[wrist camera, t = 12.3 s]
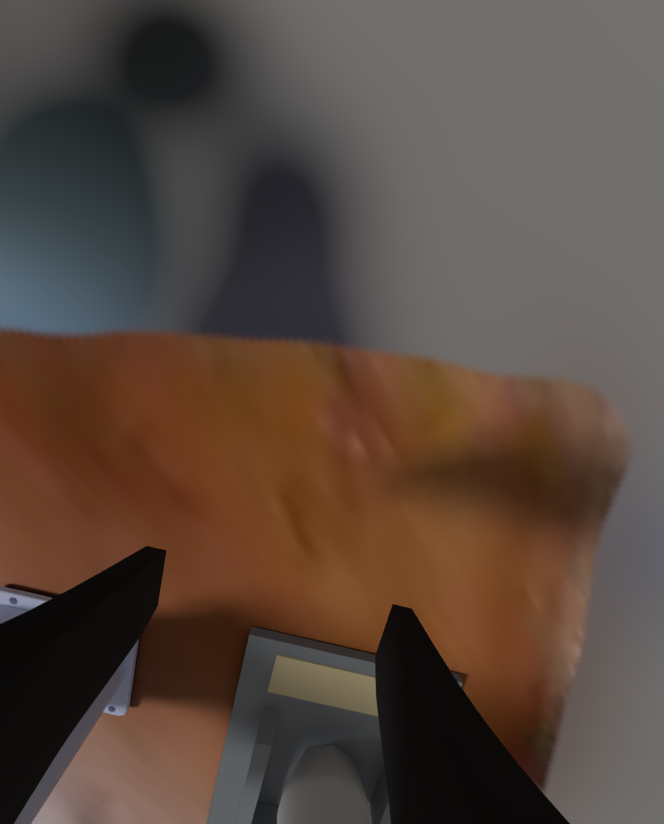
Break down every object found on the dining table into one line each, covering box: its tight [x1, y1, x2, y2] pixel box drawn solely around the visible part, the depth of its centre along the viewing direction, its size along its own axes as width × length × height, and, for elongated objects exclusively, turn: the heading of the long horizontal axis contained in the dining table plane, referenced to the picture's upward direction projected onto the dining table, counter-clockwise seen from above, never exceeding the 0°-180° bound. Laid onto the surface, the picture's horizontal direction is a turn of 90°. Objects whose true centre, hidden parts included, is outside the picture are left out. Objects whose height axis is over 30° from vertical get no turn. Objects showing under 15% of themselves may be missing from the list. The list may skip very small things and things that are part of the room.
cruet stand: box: [207, 627, 462, 824], centre depth 22 cm, size 14×18×3 cm
